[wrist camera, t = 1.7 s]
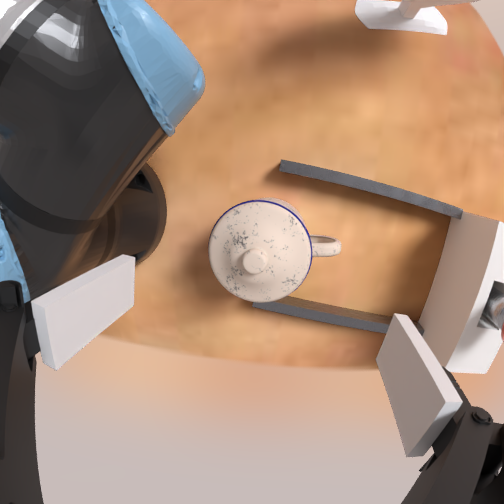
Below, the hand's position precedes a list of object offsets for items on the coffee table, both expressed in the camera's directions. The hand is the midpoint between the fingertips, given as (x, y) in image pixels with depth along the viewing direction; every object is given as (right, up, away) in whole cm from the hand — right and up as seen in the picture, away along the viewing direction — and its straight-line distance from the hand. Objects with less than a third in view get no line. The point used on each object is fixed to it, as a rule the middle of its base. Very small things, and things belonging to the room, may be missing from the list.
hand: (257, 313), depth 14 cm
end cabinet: (+26, 0, +17) cm, 31 cm away
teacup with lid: (+3, +5, +20) cm, 21 cm away
